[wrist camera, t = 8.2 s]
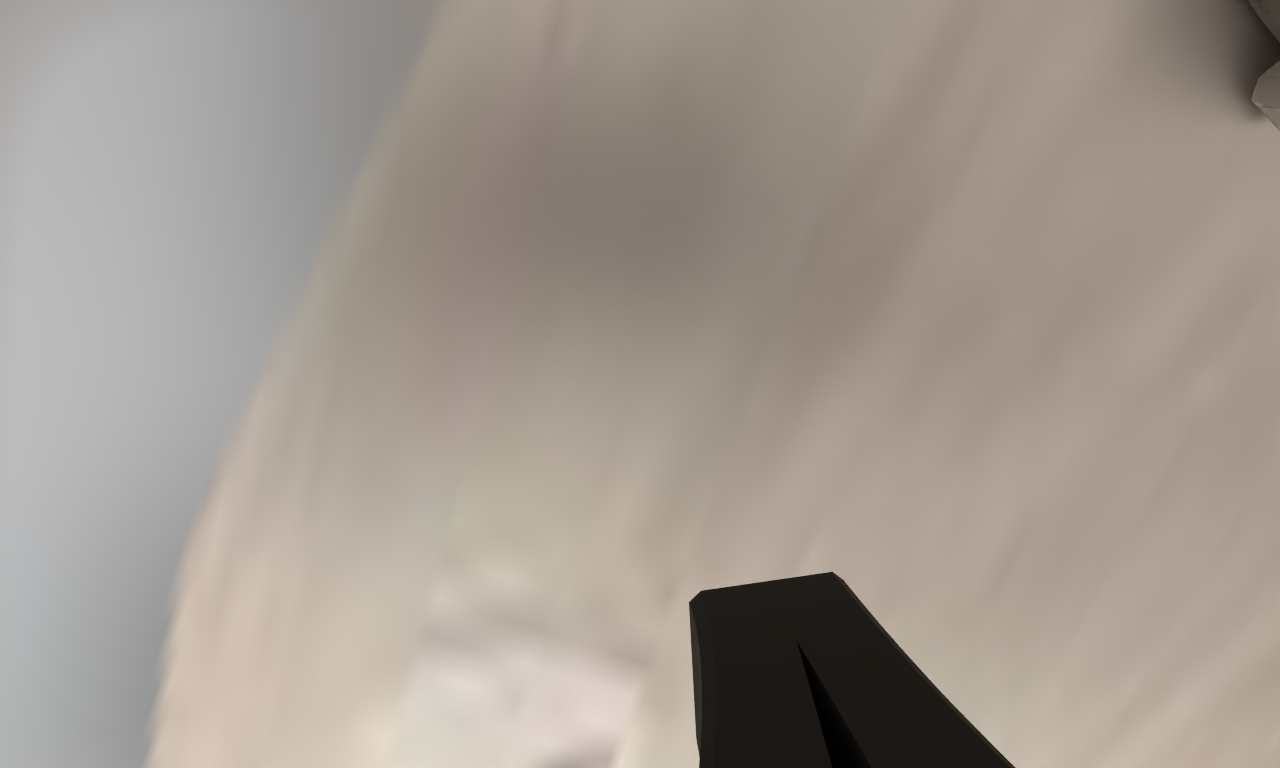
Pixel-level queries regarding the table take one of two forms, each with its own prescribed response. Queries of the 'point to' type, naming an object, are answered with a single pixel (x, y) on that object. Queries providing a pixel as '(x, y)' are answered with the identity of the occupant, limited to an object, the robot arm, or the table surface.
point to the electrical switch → (1276, 88)
